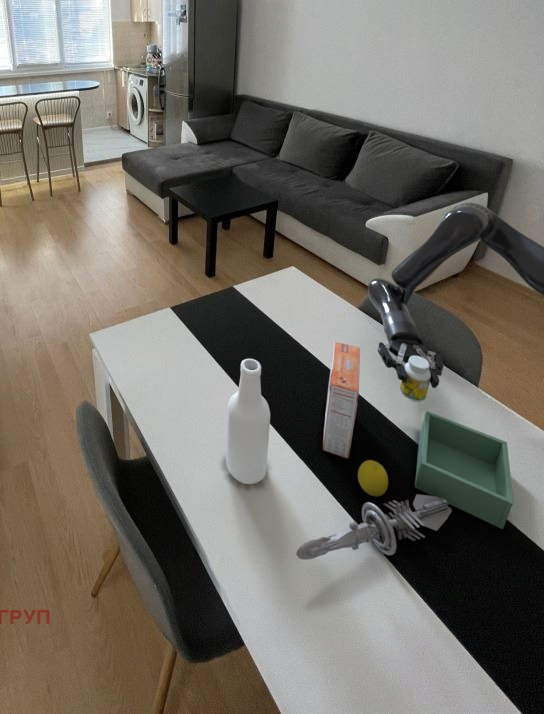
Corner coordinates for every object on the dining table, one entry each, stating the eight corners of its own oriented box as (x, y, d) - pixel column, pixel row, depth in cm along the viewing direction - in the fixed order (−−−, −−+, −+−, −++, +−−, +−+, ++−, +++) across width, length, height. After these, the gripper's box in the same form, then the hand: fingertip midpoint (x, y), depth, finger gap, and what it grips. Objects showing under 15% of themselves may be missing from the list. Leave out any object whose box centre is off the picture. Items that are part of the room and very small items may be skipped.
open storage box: (497, 466, 93) (506, 442, 91) (502, 529, 82) (513, 504, 80) (419, 433, 101) (425, 410, 98) (414, 487, 90) (421, 463, 87)
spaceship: (282, 516, 80) (309, 550, 72) (429, 472, 89) (466, 498, 81) (285, 559, 79) (313, 598, 72) (431, 510, 89) (470, 540, 81)
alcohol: (273, 465, 96) (282, 363, 85) (252, 495, 91) (258, 390, 80) (240, 440, 102) (244, 342, 91) (218, 467, 96) (219, 366, 85)
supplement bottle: (431, 400, 99) (439, 368, 96) (410, 404, 98) (417, 373, 95) (414, 381, 104) (420, 351, 101) (394, 386, 103) (400, 355, 100)
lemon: (352, 475, 93) (357, 450, 90) (380, 480, 92) (386, 454, 89) (359, 502, 88) (364, 476, 85) (388, 507, 87) (394, 481, 84)
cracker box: (325, 403, 110) (334, 339, 103) (351, 411, 108) (361, 346, 100) (320, 450, 99) (329, 383, 91) (348, 460, 96) (360, 392, 89)
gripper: (372, 316, 112) (387, 364, 97) (435, 324, 108) (460, 375, 93) (369, 338, 115) (382, 389, 100) (430, 347, 111) (453, 401, 96)
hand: (420, 382), depth 97 cm, fingers closed on supplement bottle, 5 cm apart
